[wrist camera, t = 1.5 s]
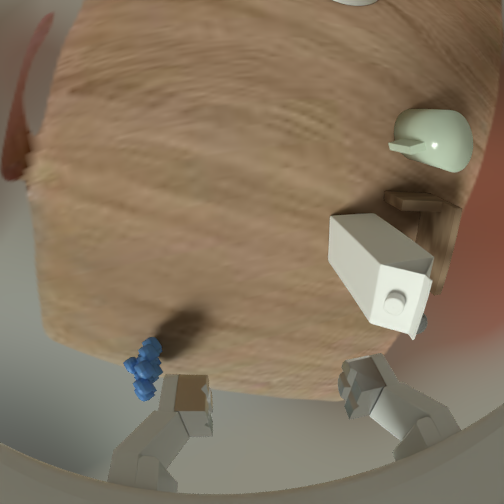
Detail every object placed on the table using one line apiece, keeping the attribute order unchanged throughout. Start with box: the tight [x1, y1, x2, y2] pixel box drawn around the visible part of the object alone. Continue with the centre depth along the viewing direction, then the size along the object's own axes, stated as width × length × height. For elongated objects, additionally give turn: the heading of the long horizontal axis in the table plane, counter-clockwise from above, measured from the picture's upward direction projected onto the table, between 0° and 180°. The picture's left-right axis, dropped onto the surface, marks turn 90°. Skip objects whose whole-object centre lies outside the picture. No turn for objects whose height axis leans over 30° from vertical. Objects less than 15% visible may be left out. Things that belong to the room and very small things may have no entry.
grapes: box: [123, 337, 163, 401], centre depth 40 cm, size 12×7×12 cm, turn 164°
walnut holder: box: [384, 191, 462, 295], centre depth 37 cm, size 14×9×8 cm, turn 1°
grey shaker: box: [416, 313, 427, 334], centre depth 41 cm, size 4×4×10 cm
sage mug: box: [388, 109, 473, 172], centre depth 30 cm, size 8×11×9 cm
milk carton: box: [328, 213, 434, 340], centre depth 31 cm, size 7×7×19 cm
